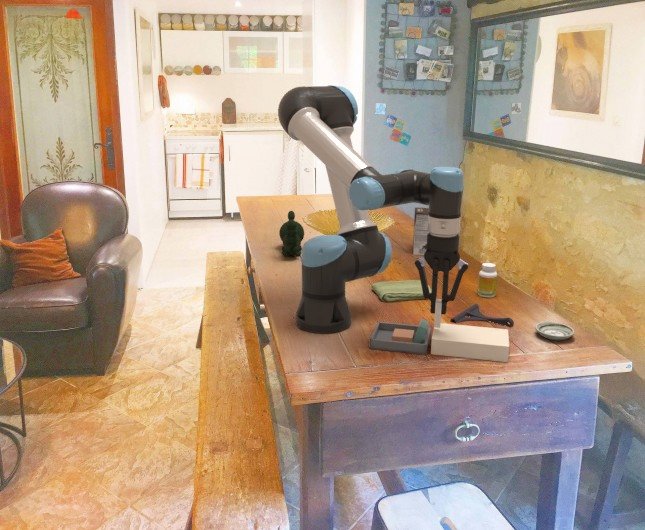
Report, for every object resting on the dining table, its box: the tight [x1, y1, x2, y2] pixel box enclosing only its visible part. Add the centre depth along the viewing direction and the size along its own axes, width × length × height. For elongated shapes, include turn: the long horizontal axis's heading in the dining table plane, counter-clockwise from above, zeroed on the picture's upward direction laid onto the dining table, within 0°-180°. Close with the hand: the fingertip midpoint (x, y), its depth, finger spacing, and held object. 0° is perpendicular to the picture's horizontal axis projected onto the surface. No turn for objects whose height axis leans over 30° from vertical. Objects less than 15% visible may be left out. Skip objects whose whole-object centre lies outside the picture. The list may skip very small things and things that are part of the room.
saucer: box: [534, 321, 575, 341], centre depth 164 cm, size 10×10×2 cm
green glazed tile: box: [412, 318, 430, 344], centre depth 158 cm, size 5×5×2 cm
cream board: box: [430, 322, 510, 363], centre depth 156 cm, size 18×11×4 cm, turn 76°
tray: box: [368, 321, 432, 356], centre depth 160 cm, size 14×12×2 cm
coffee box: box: [412, 207, 429, 256], centre depth 237 cm, size 9×6×16 cm
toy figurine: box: [278, 210, 305, 258], centre depth 235 cm, size 9×19×25 cm
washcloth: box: [371, 279, 432, 303], centre depth 195 cm, size 13×18×3 cm
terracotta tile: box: [392, 328, 414, 343], centre depth 160 cm, size 5×5×2 cm
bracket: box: [450, 303, 515, 328], centre depth 174 cm, size 14×15×3 cm
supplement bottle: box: [477, 262, 498, 298], centre depth 193 cm, size 5×5×10 cm
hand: (437, 325), depth 157 cm, fingers closed
